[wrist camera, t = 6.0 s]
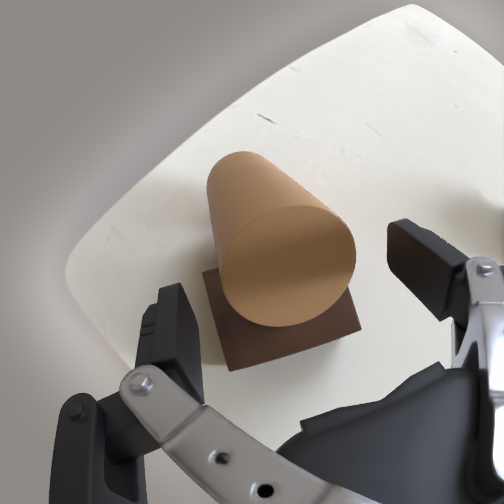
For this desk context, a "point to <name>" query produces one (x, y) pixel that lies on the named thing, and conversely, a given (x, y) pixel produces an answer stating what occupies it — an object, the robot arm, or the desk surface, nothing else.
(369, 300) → the desk surface
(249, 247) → the tan cylinder
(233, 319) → the walnut block
